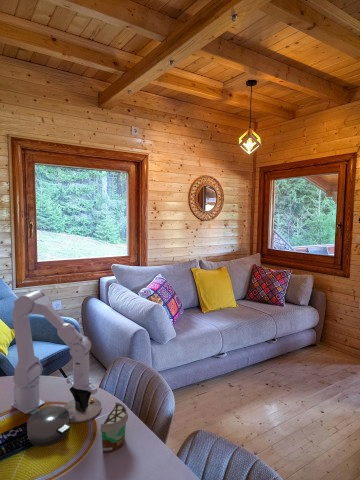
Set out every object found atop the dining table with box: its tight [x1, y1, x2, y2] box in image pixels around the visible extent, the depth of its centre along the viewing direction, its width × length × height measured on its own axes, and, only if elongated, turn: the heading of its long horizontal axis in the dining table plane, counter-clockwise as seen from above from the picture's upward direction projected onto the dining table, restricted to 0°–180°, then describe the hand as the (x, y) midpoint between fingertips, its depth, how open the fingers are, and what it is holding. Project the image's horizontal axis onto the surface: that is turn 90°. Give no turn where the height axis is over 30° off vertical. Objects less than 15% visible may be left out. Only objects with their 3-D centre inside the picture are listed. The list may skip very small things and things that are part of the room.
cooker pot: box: [26, 405, 71, 447], centre depth 106 cm, size 18×13×5 cm
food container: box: [99, 401, 129, 454], centre depth 101 cm, size 12×6×10 cm, turn 168°
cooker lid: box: [63, 396, 102, 424], centre depth 118 cm, size 14×14×4 cm
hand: (81, 406), depth 118 cm, fingers closed on cooker lid, 2 cm apart
